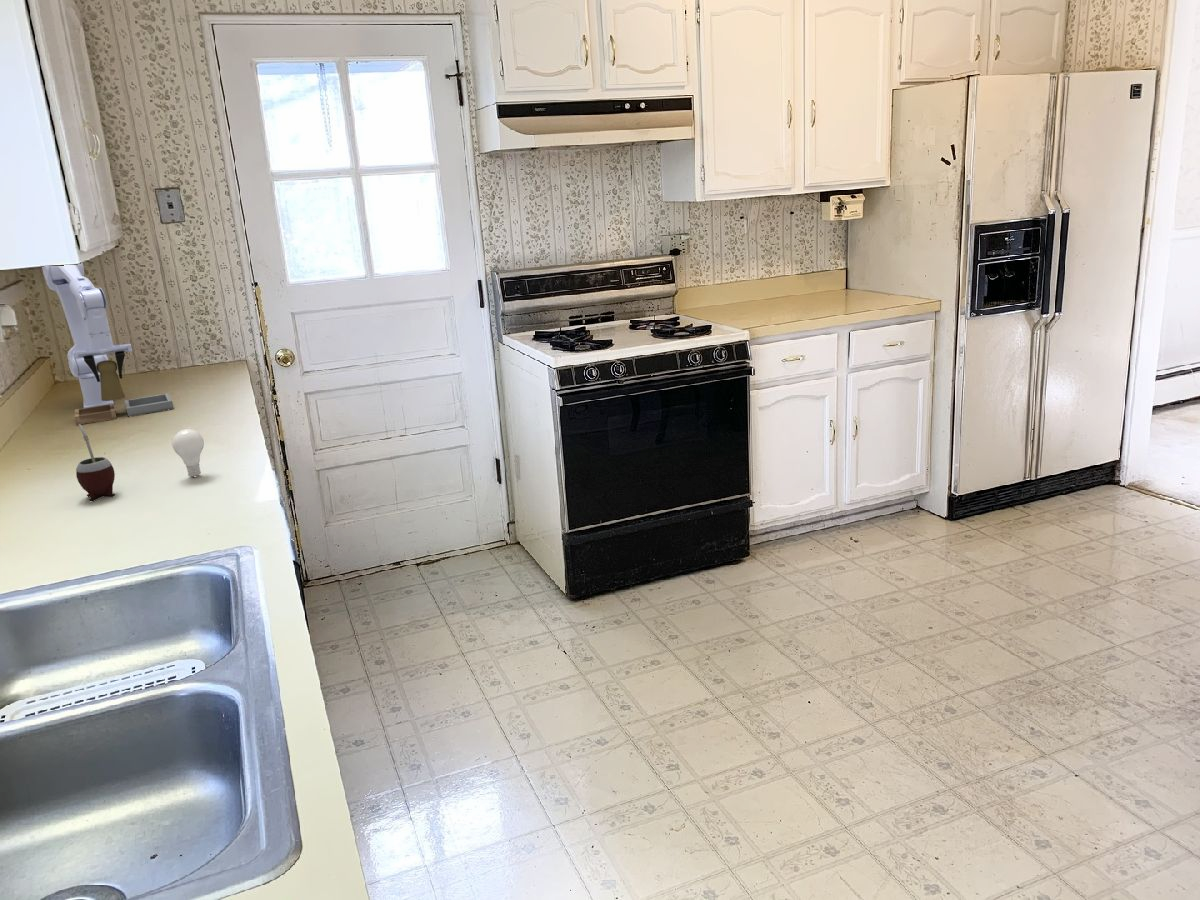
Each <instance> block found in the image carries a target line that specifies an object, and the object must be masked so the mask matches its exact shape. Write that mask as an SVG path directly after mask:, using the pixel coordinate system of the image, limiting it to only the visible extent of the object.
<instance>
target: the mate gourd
mask: <svg viewBox="0 0 1200 900" xmlns="http://www.w3.org/2000/svg"><path fill="white" fill-rule="evenodd" d="M77 426H78V427H79V429H80V431H81V433H82V435H83V439H84V441H85V444H86V446H87V449H88V452H89V456H90V458H87V459H84V460H81V461H80V462H78V464H77V466H76V468H75V471H76V473H75V474H76V480H77V482H78V483H79V485H80V487H81V489H82V490H84V491H85V492H86V493H87V494H86V497H87V496H88V497H87V498H90V499H88V500H89V502H90V501H93V502H95V501H97V500H99V499H101V498H114V497H115V493H113V487H114V485H113V484H114V483H115V475H116V473H115V470H114V469H115V468H114V466H113V465H112V463H111V461H110V459H108V458H106V457H103V456H97V457H94V454H93V453H94V452H93V449H92V447H91V445H90V444H91V443H90V441H89V437H88V435H87V433H86V432H85V428H84V427H83V425H81V424H79V425H77ZM89 496H90V497H89ZM113 496H114V497H113ZM100 497H101V498H100ZM98 498H99V499H98ZM96 499H97V500H96ZM94 500H95V501H94Z"/></svg>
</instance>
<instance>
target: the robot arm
mask: <svg viewBox="0 0 1200 900" xmlns="http://www.w3.org/2000/svg"><path fill="white" fill-rule="evenodd" d="M41 268H42V273H43V276H44V279H45V282H46V285H47V286H48V289H49V290H52V291H54V292H56V294H57V296H58V299H59V300H60V304H61V306H62V310H63V313H64V316H65V319H66V322H67V326H68V328H69V331H70V336H71V339H72V341H73V346H72V347H71V348H70V349H69V350H68V352H67V355H66V357H67V360H68V362H67V363H68V367H69V369H70V370H69V371H70V373H71V375H72V376H73V377H75V378H78V381H79V386H80V389H81V392H82V393H81V395H82V398H83V400H82V401H83V402H82V403H83V408H88V407H94V406H101V405H107V404H114V400H111V401H102V399H101V382H100V373H99V372H98V370H97V368H96V366H97V363H99V362H101V361H106V360H109V357H108V355H112V354H114V356H115V360H116V361H115V362H116V364H117V370H118V378H119V380H121V379H123V365H124V360H125V357H126V353H127V352H133V348H132V344H131V343H126V344H115V345H114V342H113V337H112V334H111V333H112V332H111V329H110V325H109V320H108V316H107V312H106V311H107V310H106V309H107V305H108V303H107V298H106V295H105V292H104V291H103V289H102V287H95V285H94V284H93V282H91V280H90V279H89V278H88V277H86V276H84V275H85V268H84V263H83V262H82V263H81V264H78V265H64V266H44V267H42V266H41ZM125 352H126V353H125Z"/></svg>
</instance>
